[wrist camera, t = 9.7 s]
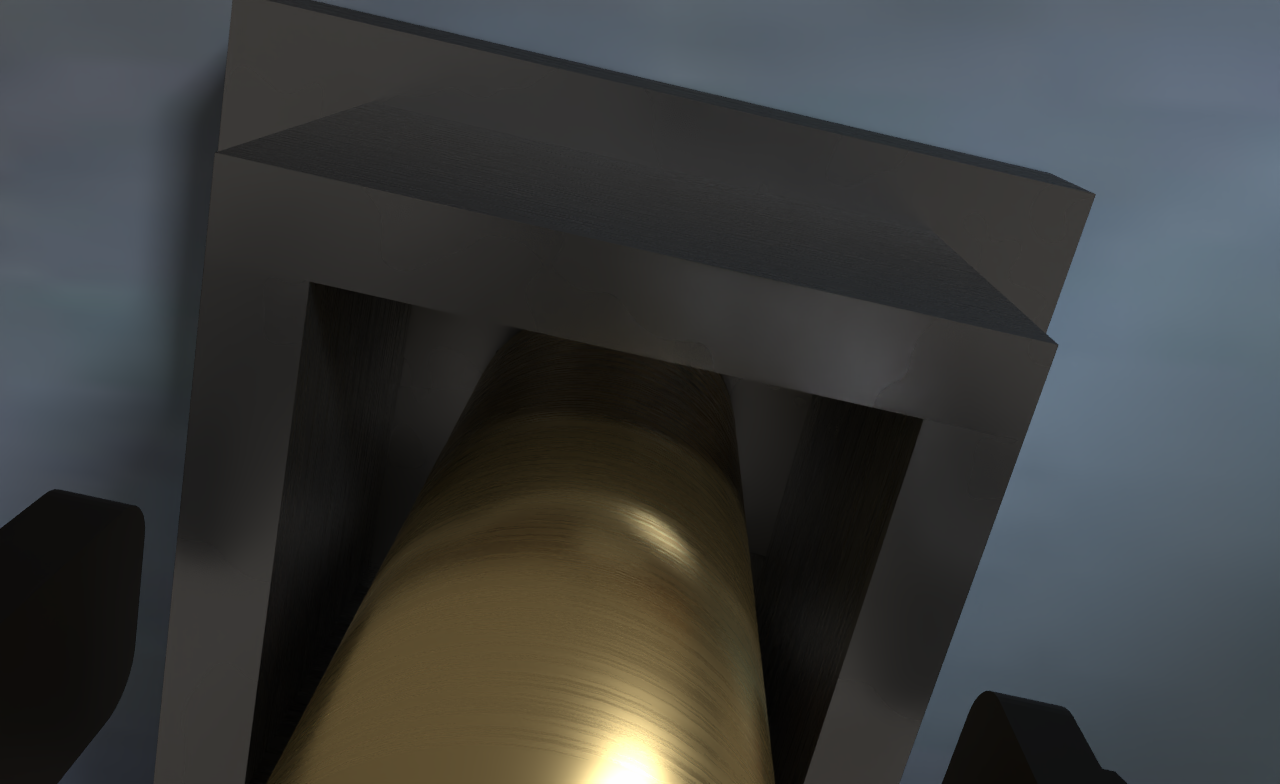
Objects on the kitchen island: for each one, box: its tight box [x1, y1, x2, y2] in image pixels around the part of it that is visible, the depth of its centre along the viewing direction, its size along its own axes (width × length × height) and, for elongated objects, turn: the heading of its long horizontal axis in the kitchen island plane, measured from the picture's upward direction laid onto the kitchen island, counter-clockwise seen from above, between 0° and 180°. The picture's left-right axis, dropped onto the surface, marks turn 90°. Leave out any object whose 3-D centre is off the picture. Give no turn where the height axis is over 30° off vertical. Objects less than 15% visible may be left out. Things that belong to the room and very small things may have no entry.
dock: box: [154, 0, 1096, 784], centre depth 17 cm, size 18×12×8 cm, turn 167°
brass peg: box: [266, 329, 775, 784], centre depth 12 cm, size 4×4×10 cm
